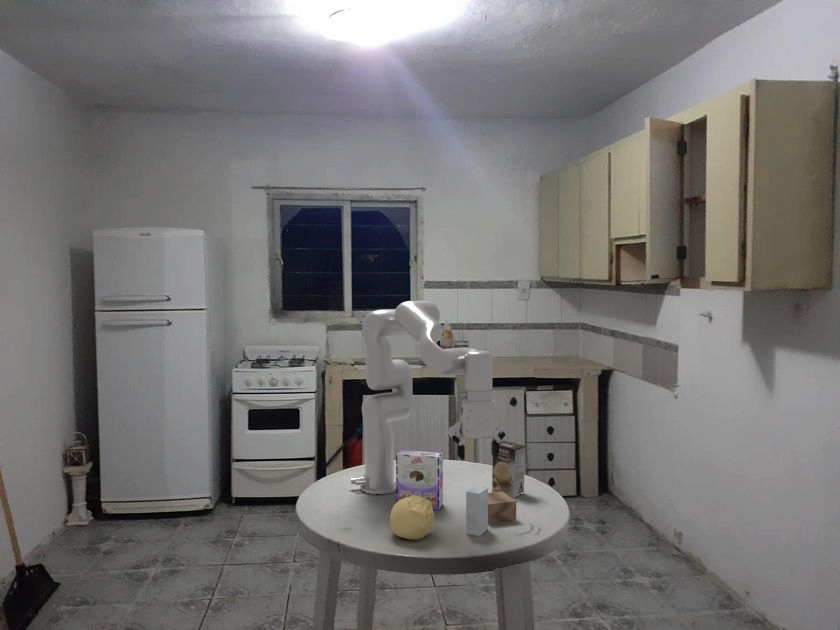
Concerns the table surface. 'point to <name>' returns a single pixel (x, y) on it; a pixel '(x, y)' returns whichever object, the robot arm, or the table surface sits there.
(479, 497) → the skincare box
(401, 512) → the pale yellow round lump
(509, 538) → the table surface
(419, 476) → the candy box
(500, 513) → the brown cardboard box
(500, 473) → the coffee box
